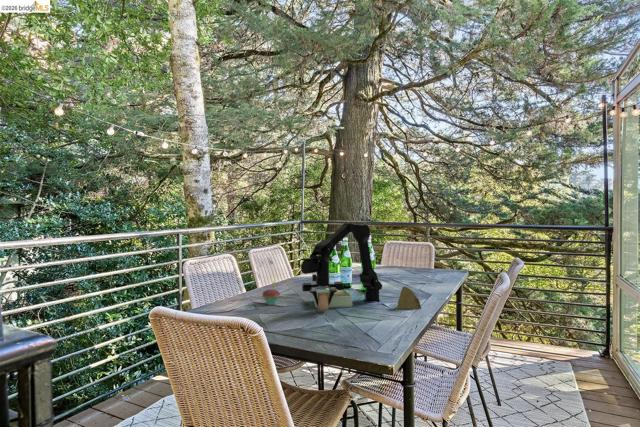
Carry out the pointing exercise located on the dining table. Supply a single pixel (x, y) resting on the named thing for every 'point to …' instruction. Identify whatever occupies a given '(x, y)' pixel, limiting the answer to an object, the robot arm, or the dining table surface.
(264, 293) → the cupcake
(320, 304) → the tan capsule
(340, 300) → the tote
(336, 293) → the maple cube
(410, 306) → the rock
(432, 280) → the dining table surface
